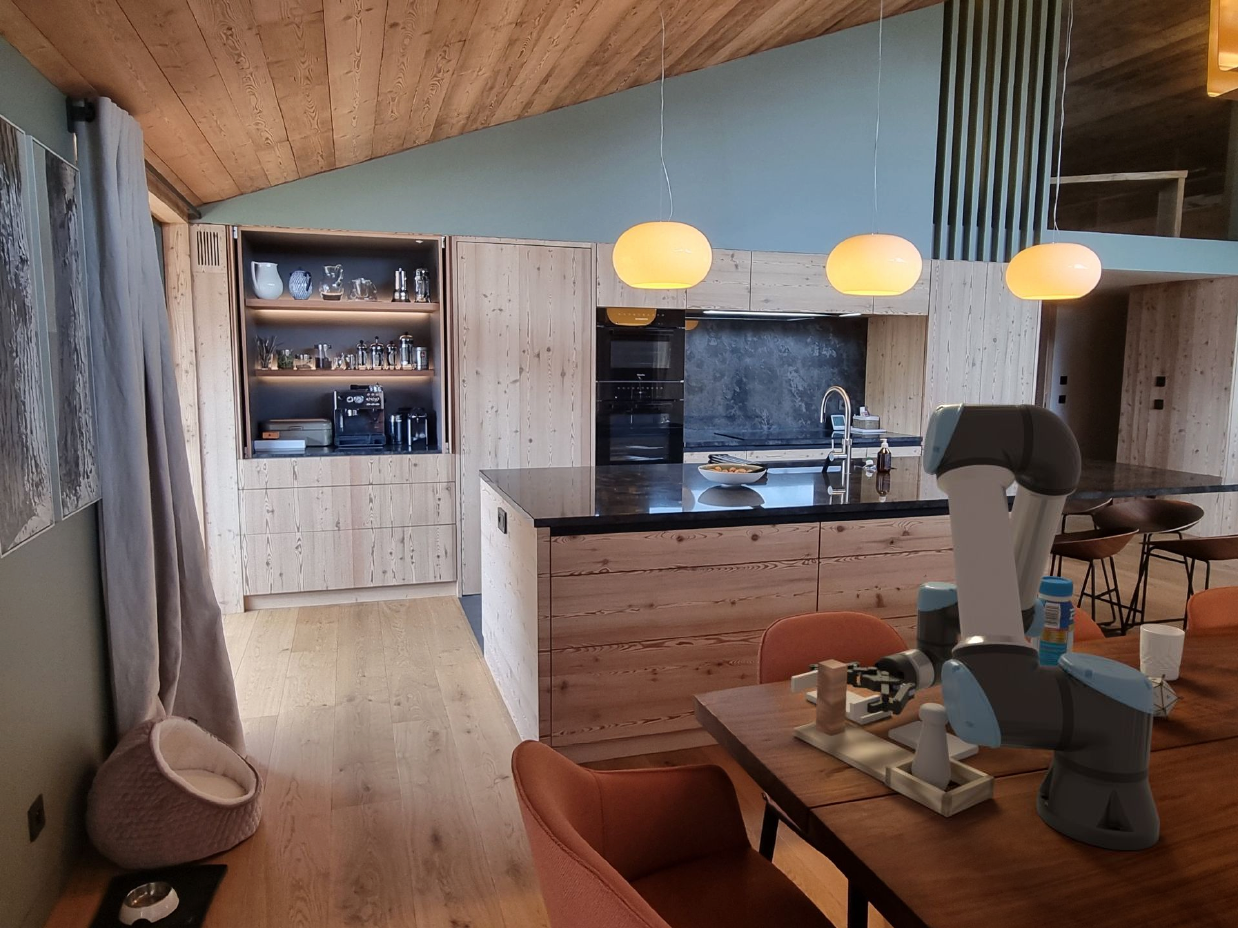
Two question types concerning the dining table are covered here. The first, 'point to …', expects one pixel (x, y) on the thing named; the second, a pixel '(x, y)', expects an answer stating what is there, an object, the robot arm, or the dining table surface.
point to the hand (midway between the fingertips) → (820, 697)
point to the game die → (1163, 697)
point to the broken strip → (906, 729)
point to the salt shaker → (932, 747)
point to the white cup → (1160, 650)
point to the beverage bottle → (1055, 620)
